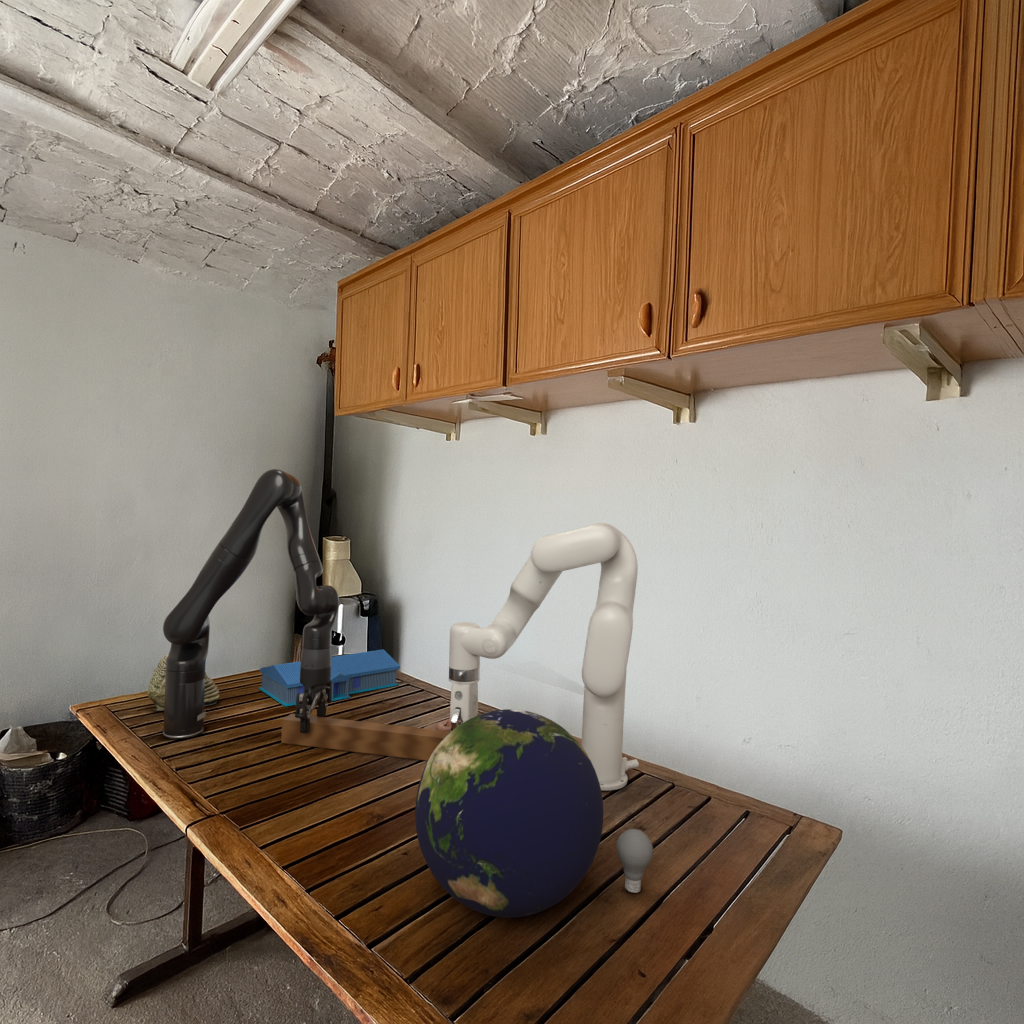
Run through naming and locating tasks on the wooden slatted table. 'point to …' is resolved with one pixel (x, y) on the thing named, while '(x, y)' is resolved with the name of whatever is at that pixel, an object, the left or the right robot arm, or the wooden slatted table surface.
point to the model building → (333, 676)
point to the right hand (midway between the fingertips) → (462, 743)
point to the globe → (509, 813)
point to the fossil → (158, 687)
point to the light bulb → (634, 857)
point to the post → (363, 737)
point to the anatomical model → (441, 725)
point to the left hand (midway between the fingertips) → (313, 727)
